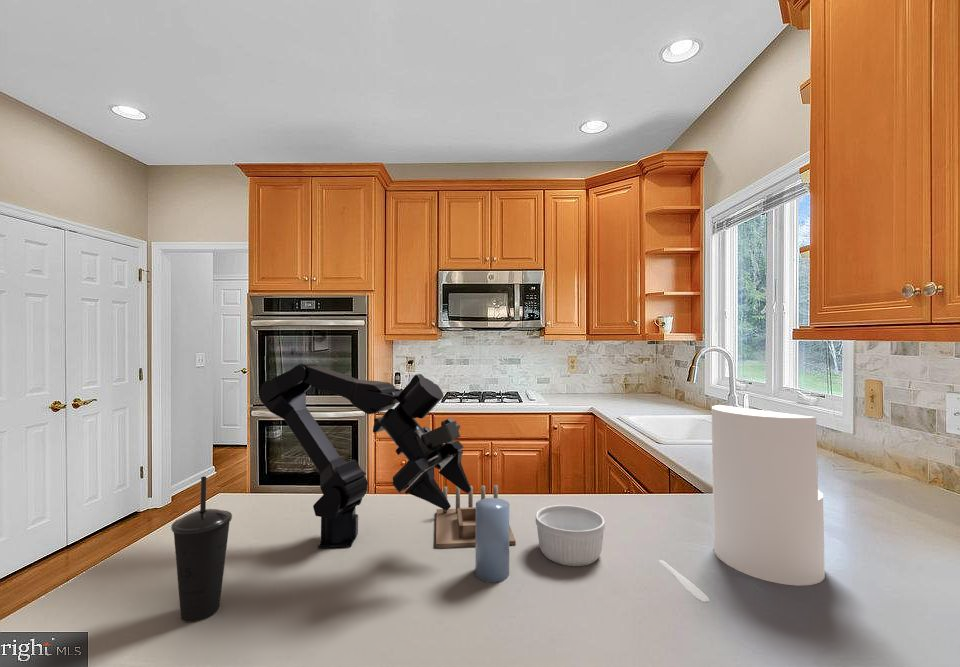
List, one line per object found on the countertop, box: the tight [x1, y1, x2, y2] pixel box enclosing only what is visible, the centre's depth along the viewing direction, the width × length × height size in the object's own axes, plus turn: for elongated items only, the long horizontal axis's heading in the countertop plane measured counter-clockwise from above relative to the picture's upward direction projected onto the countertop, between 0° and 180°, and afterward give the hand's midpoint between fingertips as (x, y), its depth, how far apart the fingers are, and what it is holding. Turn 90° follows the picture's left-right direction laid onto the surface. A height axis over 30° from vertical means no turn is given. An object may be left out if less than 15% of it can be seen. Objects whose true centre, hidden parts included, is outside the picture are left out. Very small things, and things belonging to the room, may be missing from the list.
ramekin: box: [535, 504, 606, 567], centre depth 82 cm, size 13×13×7 cm
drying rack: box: [435, 484, 517, 549], centre depth 93 cm, size 16×18×7 cm
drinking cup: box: [170, 476, 233, 623], centre depth 63 cm, size 8×8×20 cm
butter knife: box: [658, 559, 710, 603], centre depth 79 cm, size 1×27×3 cm
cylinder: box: [711, 404, 826, 587], centre depth 80 cm, size 17×17×28 cm
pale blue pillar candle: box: [474, 497, 510, 583], centre depth 75 cm, size 6×6×12 cm
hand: (459, 499), depth 77 cm, fingers open, 9 cm apart
